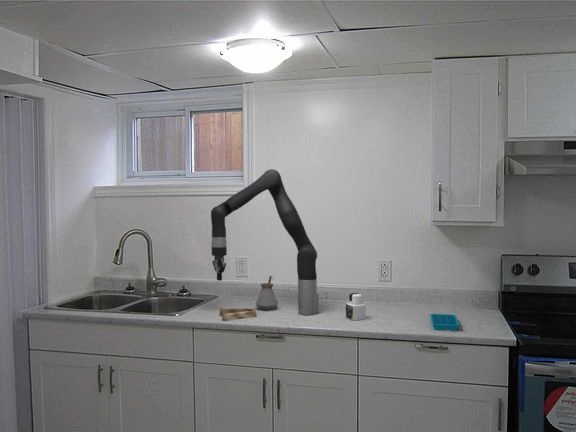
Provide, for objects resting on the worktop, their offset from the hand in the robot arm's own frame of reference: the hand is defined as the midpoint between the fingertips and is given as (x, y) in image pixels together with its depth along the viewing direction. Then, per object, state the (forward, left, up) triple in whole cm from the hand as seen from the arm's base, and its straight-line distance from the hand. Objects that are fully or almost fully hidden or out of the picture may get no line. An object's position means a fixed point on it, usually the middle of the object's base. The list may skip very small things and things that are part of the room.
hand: (219, 280), depth 262 cm
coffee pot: (-27, +1, -17) cm, 32 cm away
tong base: (-4, +16, -16) cm, 23 cm away
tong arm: (-5, +10, -16) cm, 19 cm away
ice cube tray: (-78, +75, -17) cm, 110 cm away
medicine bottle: (-51, +45, -17) cm, 70 cm away
